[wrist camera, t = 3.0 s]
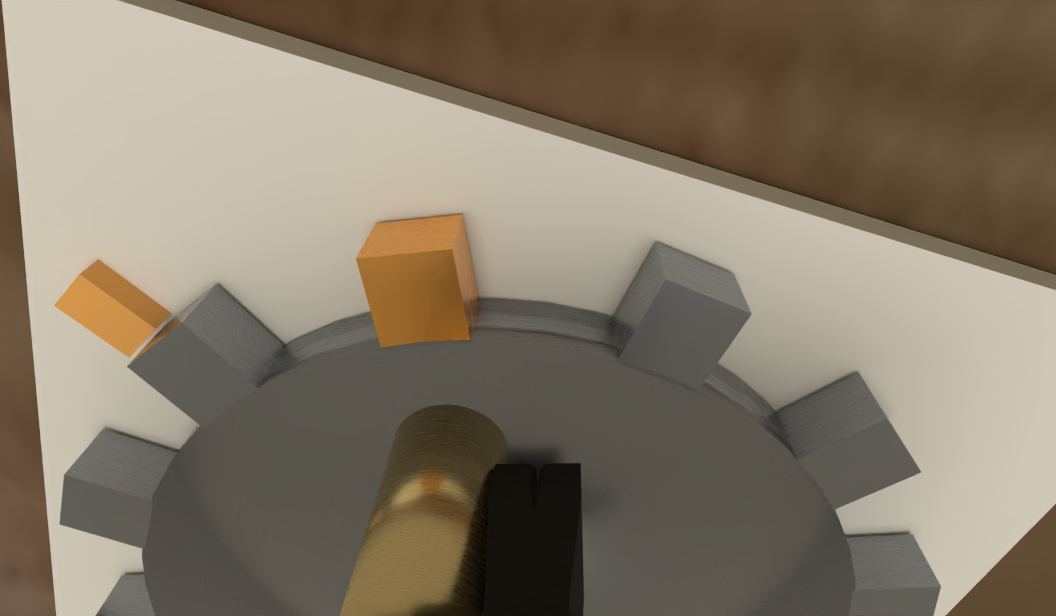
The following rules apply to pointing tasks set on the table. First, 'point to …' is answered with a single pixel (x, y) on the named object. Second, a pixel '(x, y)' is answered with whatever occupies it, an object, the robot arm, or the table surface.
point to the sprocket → (491, 455)
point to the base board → (474, 256)
